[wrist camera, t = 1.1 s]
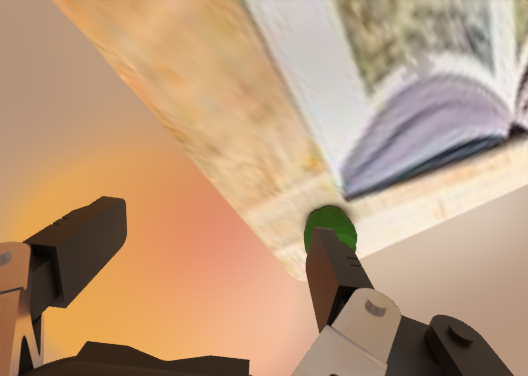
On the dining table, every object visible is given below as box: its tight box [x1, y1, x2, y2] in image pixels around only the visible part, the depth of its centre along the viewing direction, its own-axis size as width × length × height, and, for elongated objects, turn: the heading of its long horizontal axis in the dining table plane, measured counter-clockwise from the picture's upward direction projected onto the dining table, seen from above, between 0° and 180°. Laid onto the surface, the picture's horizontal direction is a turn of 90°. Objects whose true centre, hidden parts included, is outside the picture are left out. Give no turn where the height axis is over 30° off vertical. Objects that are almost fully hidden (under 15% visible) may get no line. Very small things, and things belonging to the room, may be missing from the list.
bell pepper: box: [304, 206, 357, 254], centre depth 43 cm, size 8×8×10 cm
